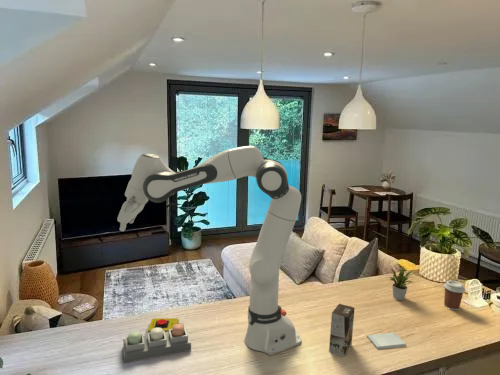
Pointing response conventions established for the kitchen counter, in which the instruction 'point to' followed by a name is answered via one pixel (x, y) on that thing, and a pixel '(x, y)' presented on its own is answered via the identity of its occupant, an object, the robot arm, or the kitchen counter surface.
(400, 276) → the house plant
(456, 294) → the coffee cup
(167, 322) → the emergency button
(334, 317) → the coffee box
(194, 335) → the kitchen counter surface
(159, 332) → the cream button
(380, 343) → the hard drive
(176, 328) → the brown egg
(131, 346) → the panel
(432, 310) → the kitchen counter surface
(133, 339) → the pale green egg
